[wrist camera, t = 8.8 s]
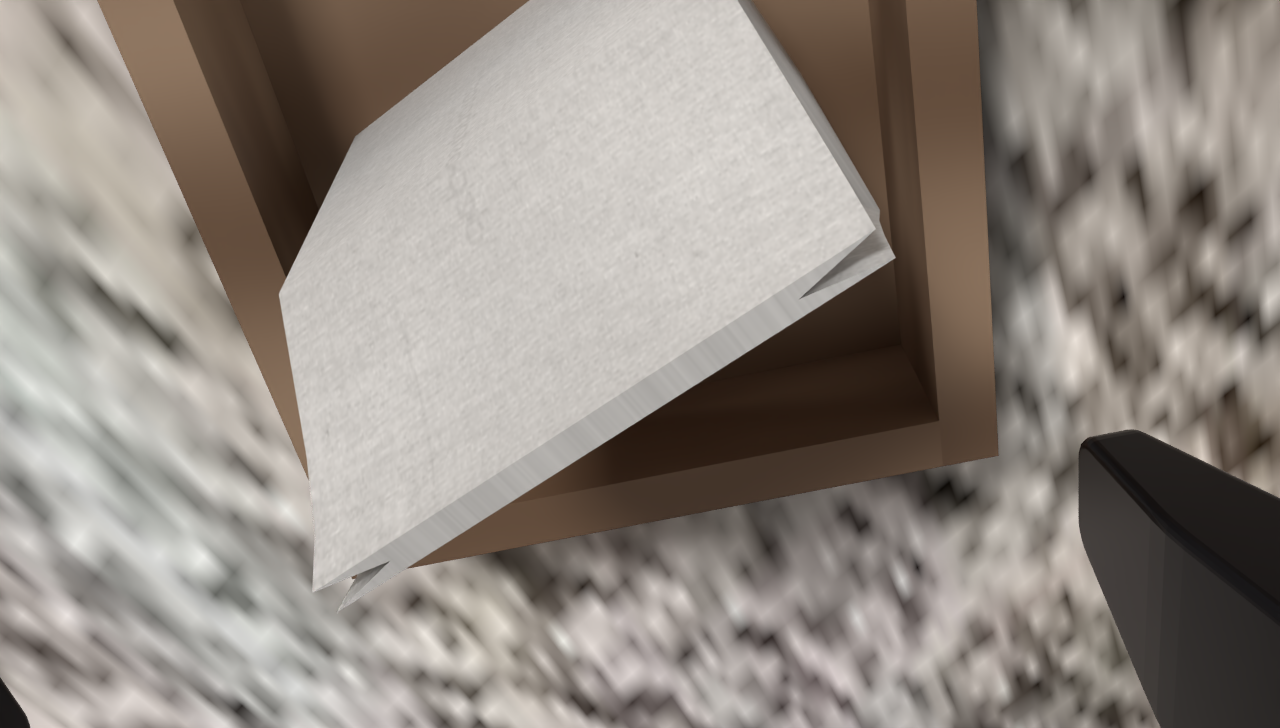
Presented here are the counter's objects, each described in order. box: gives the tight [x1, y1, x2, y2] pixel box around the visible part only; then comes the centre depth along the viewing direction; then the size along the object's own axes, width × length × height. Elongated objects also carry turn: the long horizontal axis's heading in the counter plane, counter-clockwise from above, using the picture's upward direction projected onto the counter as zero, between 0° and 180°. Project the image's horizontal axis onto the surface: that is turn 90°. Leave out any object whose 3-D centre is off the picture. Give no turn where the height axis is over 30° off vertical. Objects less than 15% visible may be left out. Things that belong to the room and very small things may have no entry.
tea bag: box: [279, 0, 896, 612], centre depth 15 cm, size 4×7×10 cm, turn 126°
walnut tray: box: [97, 0, 999, 579], centre depth 19 cm, size 14×12×4 cm
